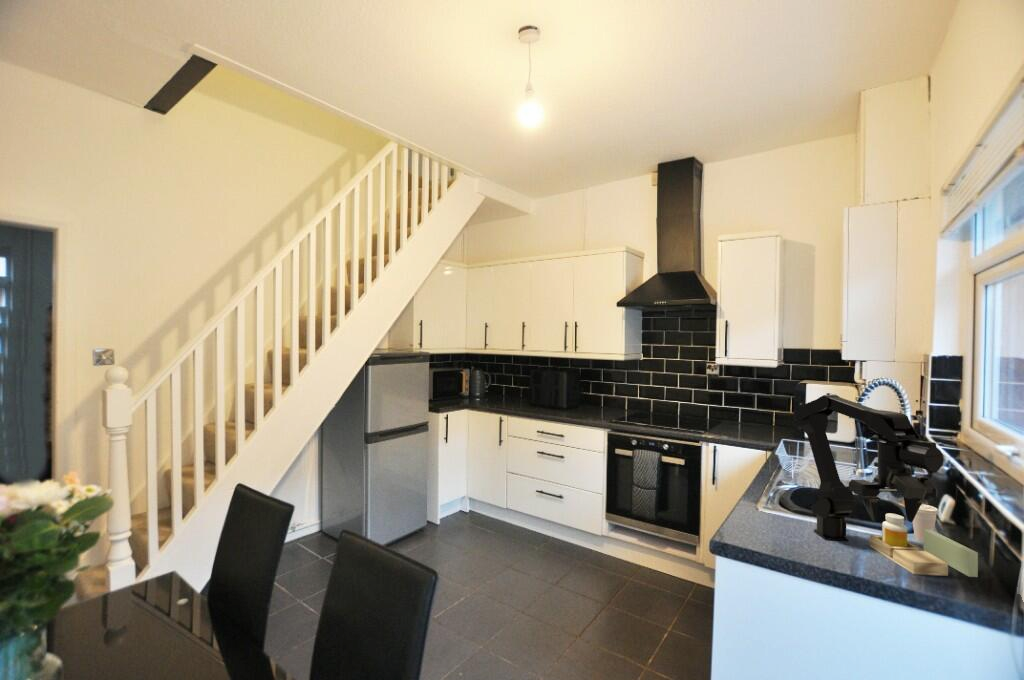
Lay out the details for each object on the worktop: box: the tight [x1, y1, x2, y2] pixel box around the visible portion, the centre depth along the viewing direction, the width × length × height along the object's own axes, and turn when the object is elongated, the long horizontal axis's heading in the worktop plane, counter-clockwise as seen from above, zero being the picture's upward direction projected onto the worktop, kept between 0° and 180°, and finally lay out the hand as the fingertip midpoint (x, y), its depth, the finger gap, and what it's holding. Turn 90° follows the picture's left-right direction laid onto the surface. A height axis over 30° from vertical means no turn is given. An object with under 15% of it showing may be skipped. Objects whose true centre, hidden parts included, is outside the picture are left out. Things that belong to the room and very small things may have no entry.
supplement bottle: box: [881, 512, 908, 547], centre depth 128 cm, size 5×5×10 cm
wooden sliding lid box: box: [869, 535, 949, 577], centre depth 124 cm, size 8×16×3 cm, turn 176°
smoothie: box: [912, 503, 939, 543], centre depth 137 cm, size 6×6×14 cm
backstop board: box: [923, 530, 979, 578], centre depth 122 cm, size 2×14×6 cm, turn 175°
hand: (891, 521), depth 121 cm, fingers open, 9 cm apart
